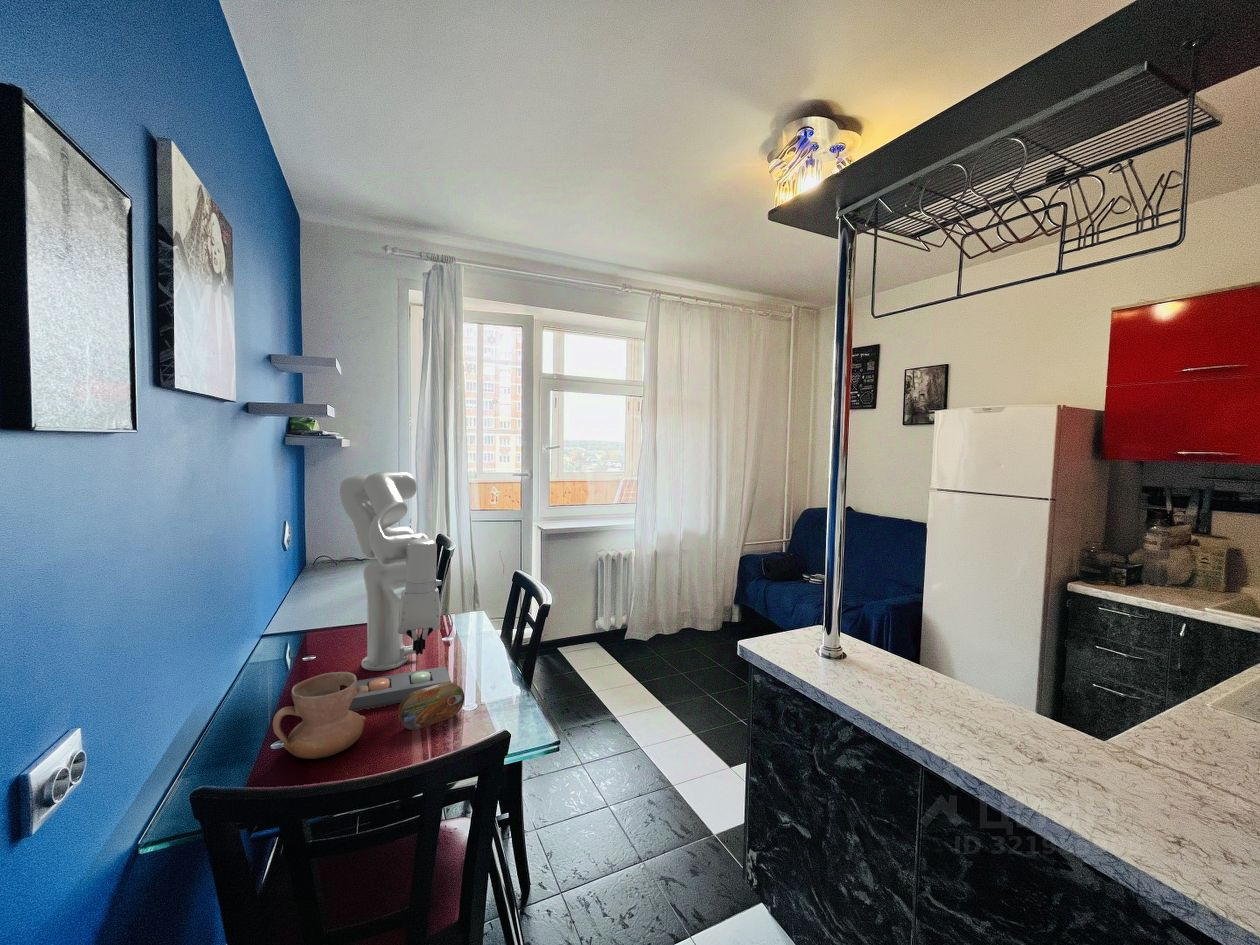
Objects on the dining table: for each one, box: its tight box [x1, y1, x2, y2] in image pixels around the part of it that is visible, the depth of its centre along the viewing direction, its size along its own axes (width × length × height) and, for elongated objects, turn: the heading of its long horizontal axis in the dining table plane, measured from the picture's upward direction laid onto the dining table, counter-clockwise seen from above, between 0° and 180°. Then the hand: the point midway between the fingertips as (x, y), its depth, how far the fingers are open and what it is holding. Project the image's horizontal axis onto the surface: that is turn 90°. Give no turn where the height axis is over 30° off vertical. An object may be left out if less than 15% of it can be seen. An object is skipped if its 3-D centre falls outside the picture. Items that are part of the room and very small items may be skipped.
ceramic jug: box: [272, 671, 368, 760], centre depth 112 cm, size 18×14×14 cm
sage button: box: [411, 671, 430, 684], centre depth 138 cm, size 5×5×3 cm
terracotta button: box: [369, 678, 390, 692], centre depth 134 cm, size 5×5×3 cm
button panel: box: [348, 665, 452, 712], centre depth 136 cm, size 24×10×4 cm, turn 117°
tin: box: [397, 681, 465, 731], centre depth 123 cm, size 15×3×8 cm, turn 130°
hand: (418, 652), depth 139 cm, fingers closed
